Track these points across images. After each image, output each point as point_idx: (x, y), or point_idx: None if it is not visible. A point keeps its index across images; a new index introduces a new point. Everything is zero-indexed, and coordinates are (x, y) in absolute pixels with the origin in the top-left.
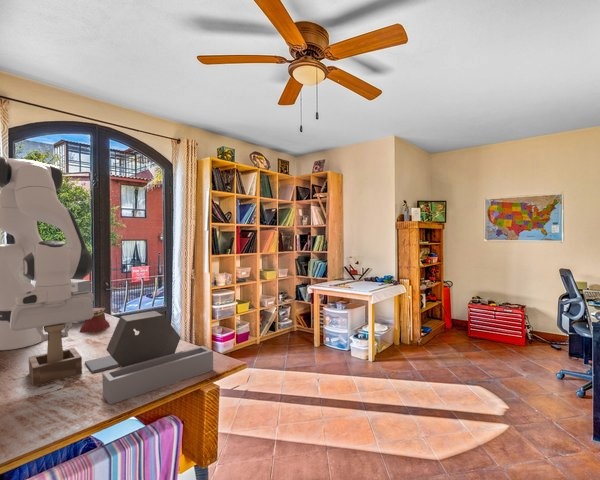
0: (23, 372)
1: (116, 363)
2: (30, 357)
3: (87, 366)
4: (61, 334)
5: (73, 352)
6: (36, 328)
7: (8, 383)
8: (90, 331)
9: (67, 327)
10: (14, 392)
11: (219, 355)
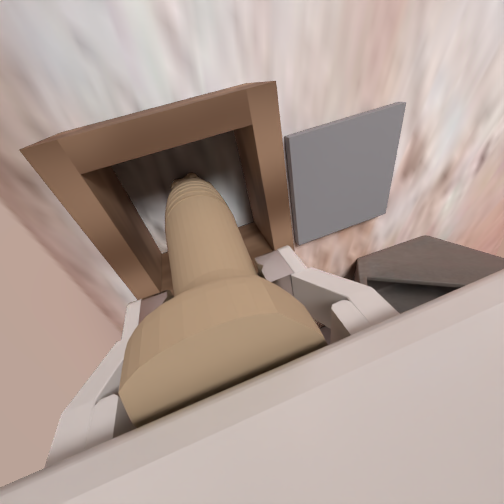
0: (7, 91)
1: (359, 217)
2: (40, 162)
3: (290, 182)
4: (260, 265)
5: (271, 187)
6: (65, 442)
7: (32, 221)
8: None
9: (326, 317)
10: (114, 296)
11: (500, 242)
